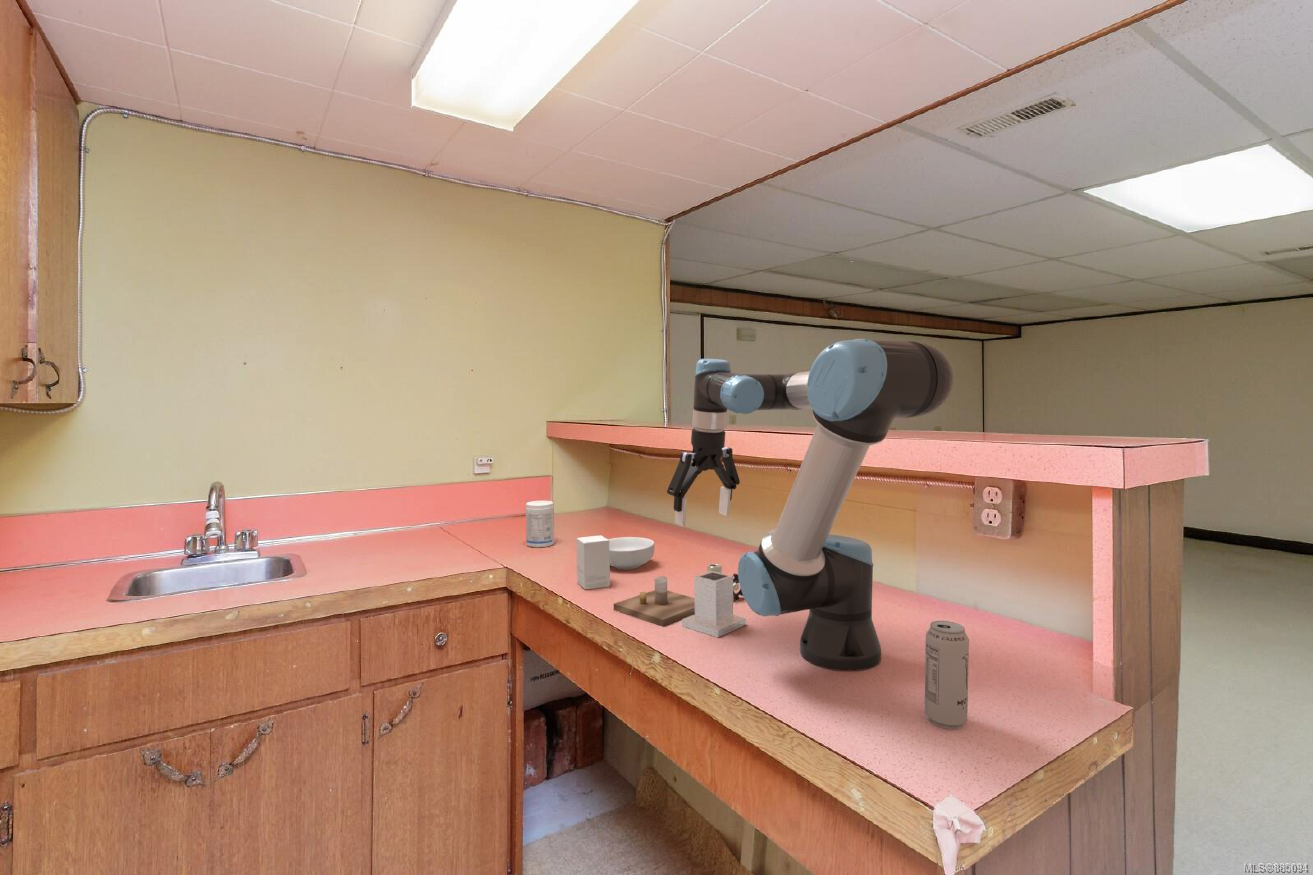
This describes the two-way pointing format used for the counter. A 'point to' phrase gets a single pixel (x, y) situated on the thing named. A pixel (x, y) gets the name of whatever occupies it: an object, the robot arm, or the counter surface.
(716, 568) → the valve
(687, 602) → the base board
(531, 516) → the supplement tub
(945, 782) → the counter surface
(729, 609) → the white hollow block
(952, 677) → the energy drink can
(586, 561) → the supplement box
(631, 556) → the cereal bowl
